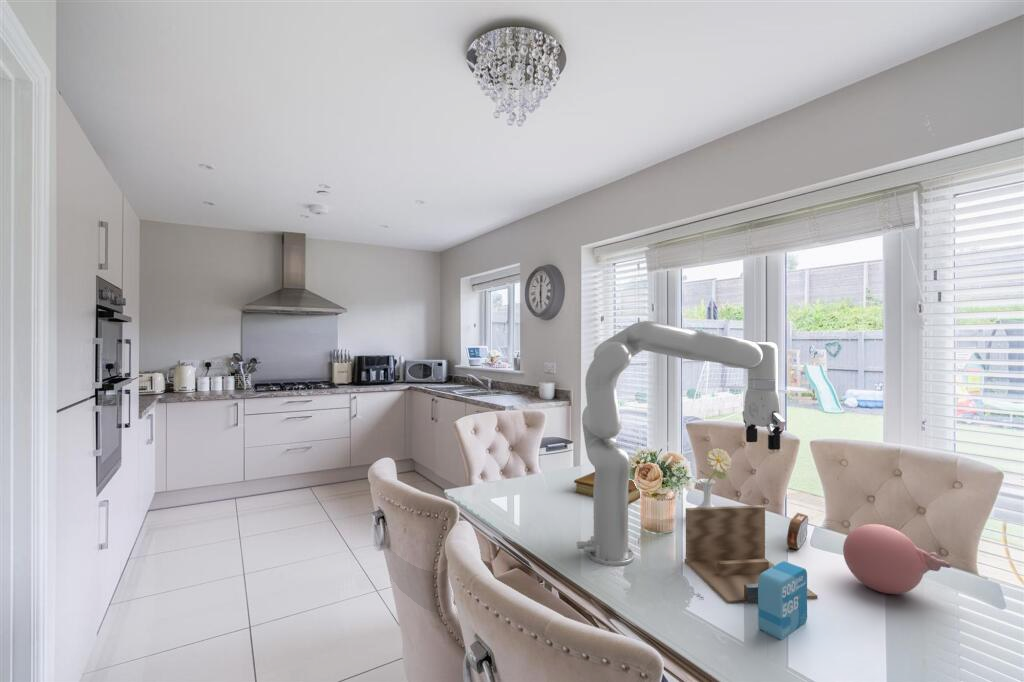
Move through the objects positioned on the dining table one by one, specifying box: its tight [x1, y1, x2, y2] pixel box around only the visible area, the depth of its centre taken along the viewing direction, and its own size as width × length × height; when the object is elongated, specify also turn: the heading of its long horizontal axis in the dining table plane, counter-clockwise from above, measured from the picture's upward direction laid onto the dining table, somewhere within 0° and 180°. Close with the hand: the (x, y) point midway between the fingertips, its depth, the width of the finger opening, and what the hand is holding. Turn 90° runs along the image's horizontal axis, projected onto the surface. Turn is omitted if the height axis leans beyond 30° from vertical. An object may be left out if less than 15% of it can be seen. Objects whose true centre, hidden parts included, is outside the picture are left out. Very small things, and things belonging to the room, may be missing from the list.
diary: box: [573, 471, 641, 506], centre depth 188 cm, size 23×19×6 cm
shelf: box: [684, 504, 818, 605], centre depth 119 cm, size 22×21×15 cm
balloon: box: [842, 523, 952, 595], centre depth 113 cm, size 15×20×15 cm
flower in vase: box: [695, 447, 732, 508], centre depth 157 cm, size 13×11×25 cm
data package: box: [757, 560, 808, 641], centre depth 99 cm, size 12×4×12 cm, turn 125°
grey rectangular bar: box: [744, 584, 758, 601], centre depth 109 cm, size 13×2×3 cm, turn 96°
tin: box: [786, 512, 809, 551], centre depth 140 cm, size 15×3×8 cm, turn 137°
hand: (762, 445), depth 134 cm, fingers open, 9 cm apart
